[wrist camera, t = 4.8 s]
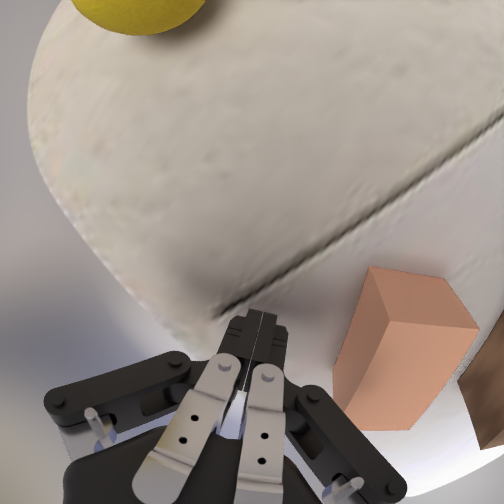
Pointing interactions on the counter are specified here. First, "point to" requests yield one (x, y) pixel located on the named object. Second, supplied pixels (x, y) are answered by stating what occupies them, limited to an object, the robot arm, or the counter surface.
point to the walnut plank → (487, 389)
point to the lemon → (138, 14)
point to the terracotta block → (400, 349)
